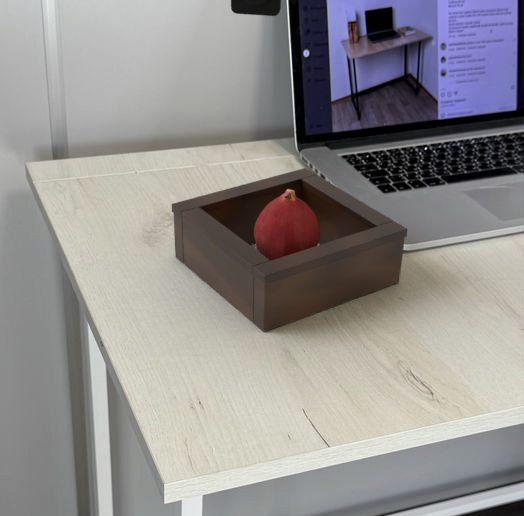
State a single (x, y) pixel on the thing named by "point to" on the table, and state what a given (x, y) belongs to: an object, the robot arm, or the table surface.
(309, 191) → the wooden box
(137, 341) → the table surface
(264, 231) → the red rounded tapered piece
